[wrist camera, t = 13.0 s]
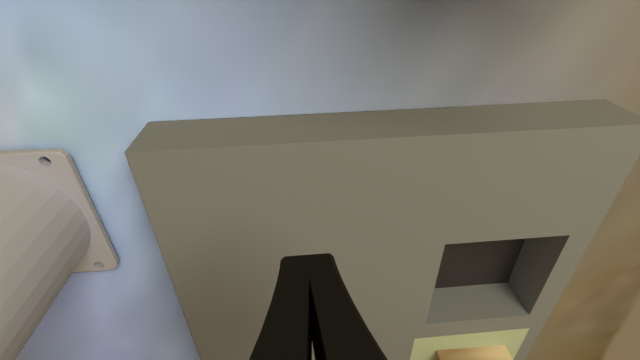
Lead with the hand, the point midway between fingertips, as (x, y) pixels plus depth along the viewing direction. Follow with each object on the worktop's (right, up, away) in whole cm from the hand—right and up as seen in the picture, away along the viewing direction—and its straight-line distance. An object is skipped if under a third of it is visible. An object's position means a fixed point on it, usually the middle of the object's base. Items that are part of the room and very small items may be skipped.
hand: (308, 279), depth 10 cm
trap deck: (+4, -7, +16) cm, 18 cm away
